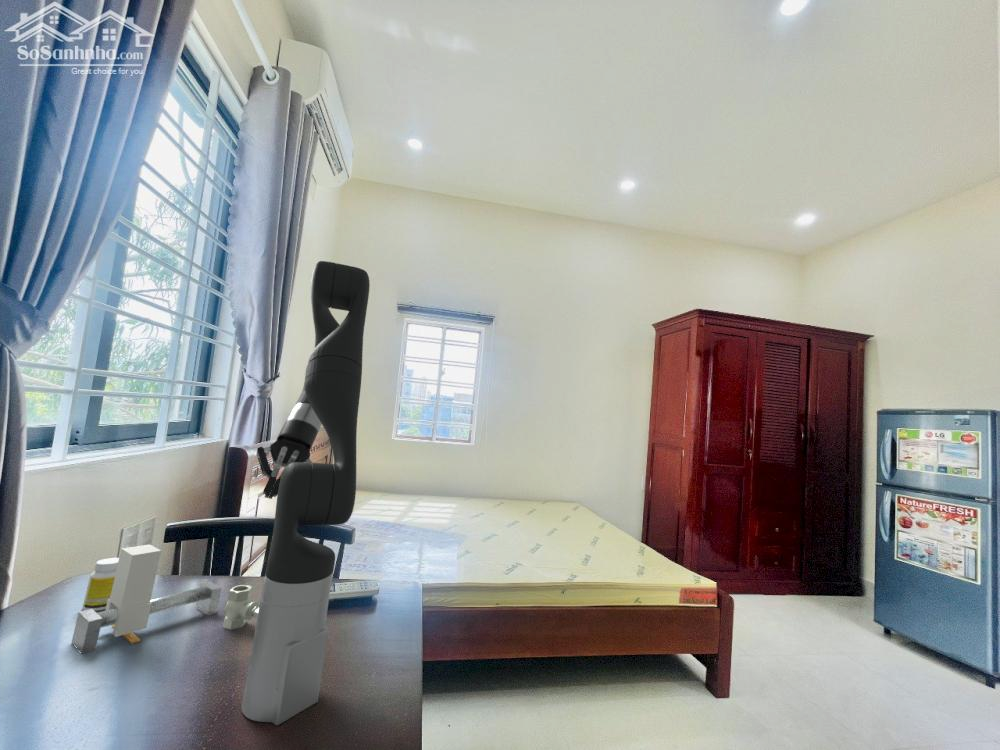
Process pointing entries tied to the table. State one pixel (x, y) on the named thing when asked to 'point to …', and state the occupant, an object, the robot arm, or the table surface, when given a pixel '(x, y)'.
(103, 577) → the supplement bottle
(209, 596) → the rail
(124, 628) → the tall white pillar block
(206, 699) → the table surface
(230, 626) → the valve
